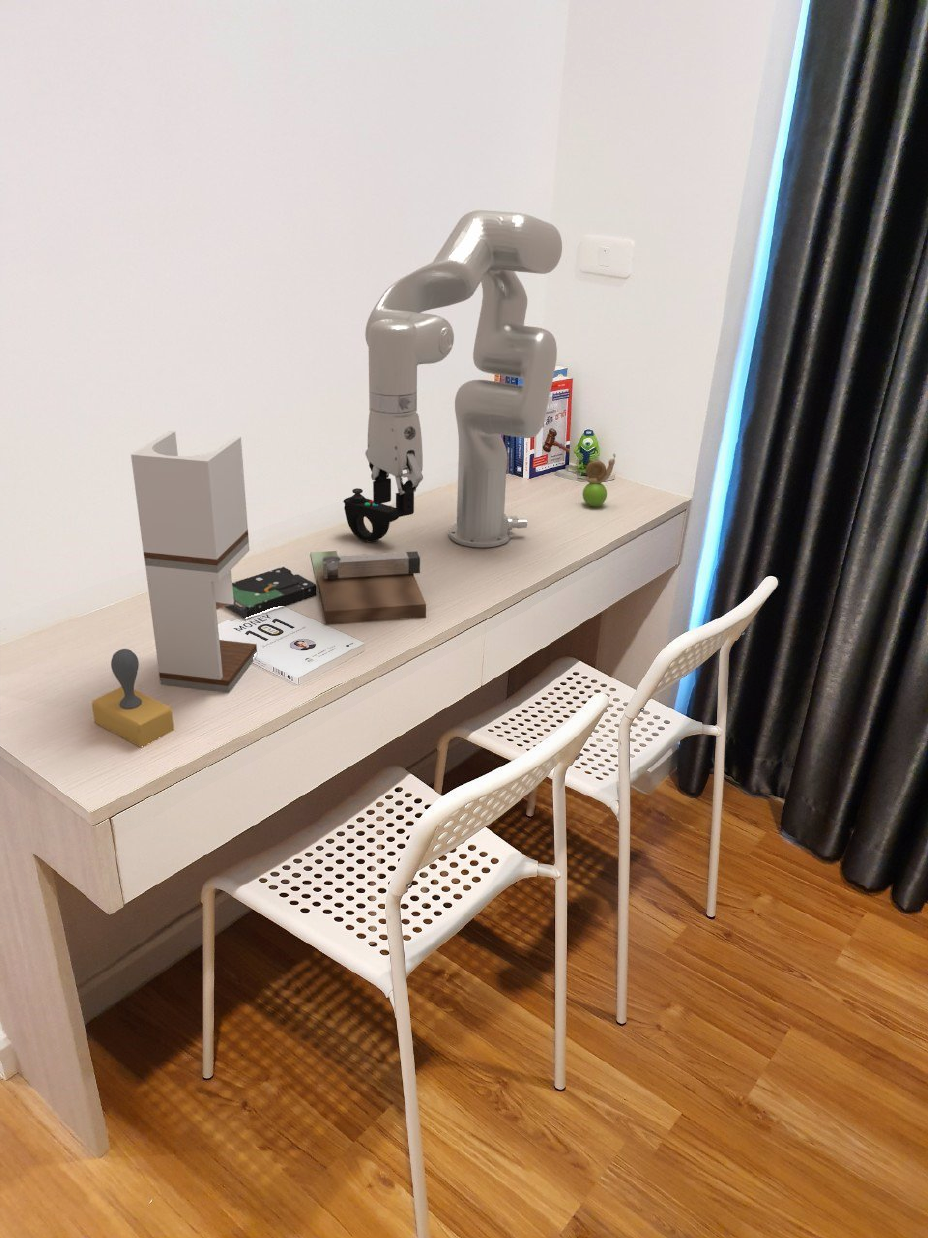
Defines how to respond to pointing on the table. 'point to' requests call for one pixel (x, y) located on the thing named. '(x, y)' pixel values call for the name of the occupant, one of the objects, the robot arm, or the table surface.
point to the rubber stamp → (131, 706)
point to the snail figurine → (597, 482)
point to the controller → (368, 516)
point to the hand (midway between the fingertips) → (393, 507)
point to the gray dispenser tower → (192, 558)
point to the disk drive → (270, 591)
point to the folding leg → (370, 565)
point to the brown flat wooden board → (367, 596)
